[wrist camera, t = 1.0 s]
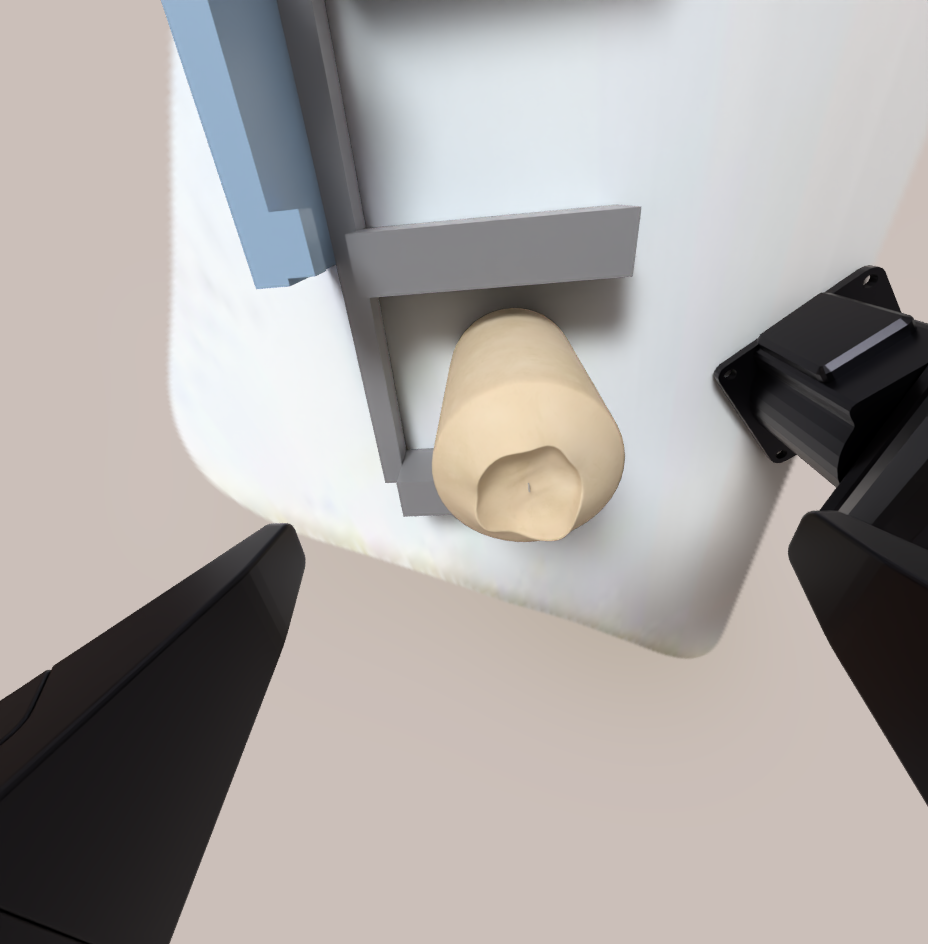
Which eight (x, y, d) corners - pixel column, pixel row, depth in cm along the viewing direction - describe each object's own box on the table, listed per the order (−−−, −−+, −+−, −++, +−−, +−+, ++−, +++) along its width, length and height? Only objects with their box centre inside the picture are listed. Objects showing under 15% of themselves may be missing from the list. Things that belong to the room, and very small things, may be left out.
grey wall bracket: (589, 473, 22) (620, 554, 17) (376, 482, 23) (346, 563, 18) (664, -287, 10) (842, -759, 5) (211, -204, 11) (-17, -537, 6)
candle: (591, 386, 20) (672, 528, 11) (490, 441, 21) (495, 599, 13) (535, 278, 17) (584, 358, 9) (427, 351, 19) (382, 474, 11)
